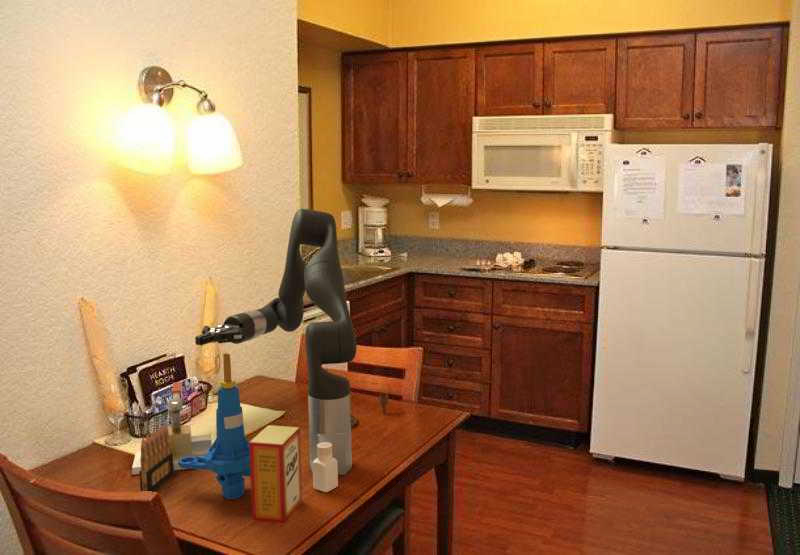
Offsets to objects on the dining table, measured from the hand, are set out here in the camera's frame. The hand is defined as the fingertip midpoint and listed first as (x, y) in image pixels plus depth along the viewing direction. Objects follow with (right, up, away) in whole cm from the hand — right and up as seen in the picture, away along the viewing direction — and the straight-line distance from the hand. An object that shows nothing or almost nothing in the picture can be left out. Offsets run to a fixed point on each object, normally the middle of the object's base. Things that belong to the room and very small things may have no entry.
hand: (197, 341), depth 181 cm
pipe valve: (-1, -25, -13) cm, 28 cm away
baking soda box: (+26, -30, -36) cm, 54 cm away
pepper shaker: (+34, -29, -26) cm, 52 cm away
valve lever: (-3, -13, -8) cm, 16 cm away
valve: (+12, -29, -28) cm, 42 cm away
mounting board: (-1, -26, -13) cm, 29 cm away
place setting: (+37, -23, +11) cm, 45 cm away
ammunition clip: (-2, -29, -24) cm, 37 cm away
